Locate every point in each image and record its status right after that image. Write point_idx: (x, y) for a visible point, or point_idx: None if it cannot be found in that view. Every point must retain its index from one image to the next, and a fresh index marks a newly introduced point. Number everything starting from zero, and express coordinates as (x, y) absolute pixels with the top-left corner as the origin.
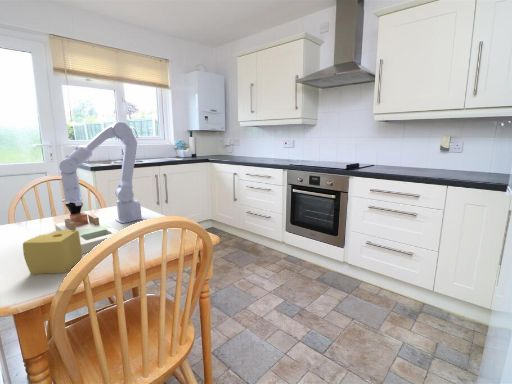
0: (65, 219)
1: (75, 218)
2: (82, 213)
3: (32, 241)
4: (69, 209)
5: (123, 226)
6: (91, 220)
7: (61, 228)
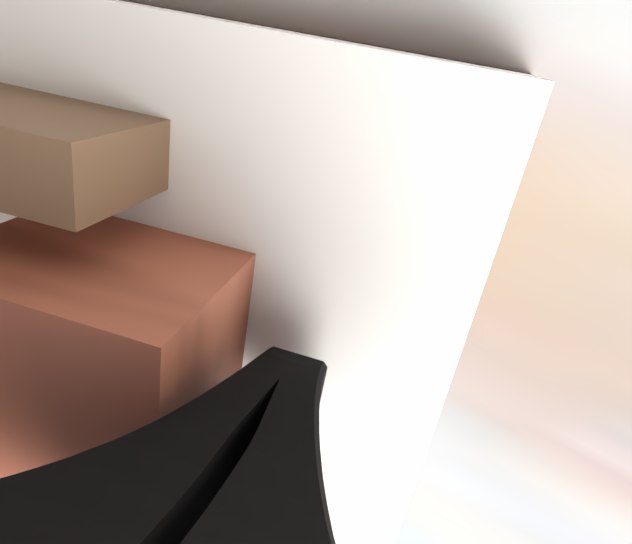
0: (57, 158)
1: None
2: None
3: None
4: (161, 494)
5: None
6: None
7: (112, 17)
